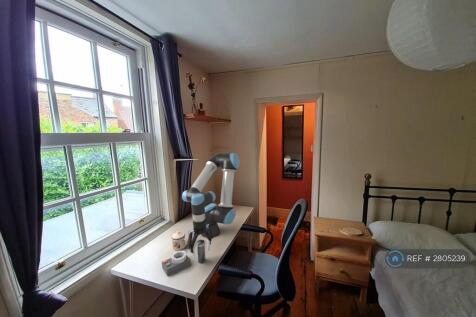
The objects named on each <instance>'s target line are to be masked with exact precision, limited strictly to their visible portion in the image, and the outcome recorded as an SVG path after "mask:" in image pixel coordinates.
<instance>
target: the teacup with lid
mask: <svg viewBox="0 0 476 317" xmlns="http://www.w3.org/2000/svg"><path fill="white" fill-rule="evenodd" d="M185 236H186V234H185V232H183V231H180V230H177V231H176V232H174V233H173V234H172V235H171V242H172V249H173V250H174V251H183V249H185V247H187V243H188V238H187V239H186V237H185Z"/></svg>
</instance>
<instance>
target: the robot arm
mask: <svg viewBox="0 0 476 317" xmlns="http://www.w3.org/2000/svg"><path fill="white" fill-rule="evenodd" d="M240 165H241V161H240V157H239V155H238V154H237V153H234V152H226V153H225V152H224V153H223V152H218V153H216V154H214V155H212V156H211V157H210V158H209V159H208V160H207V161H206V163H205V166H204V168H203V169H202V171H201V172H200V174H199V175H198V176H197V178H196V179H195V181H194V182H193V183H192V185H191V187H190V188H189V189H188V190H184V191H183V192H182V195H181V199H182V201H184V202H186V203H191V212H192V214H191V215H192V225H193V228H192V230H189V231H188V238H187V241H188V243H187V245H186V248H188V249H189V250H190V253H191V257H192V258H193V259H195V258H196V250H195V244H196V243H197V239H198V238H199V236H200V235H201V237H204V238H206V249H207V251H208V252H210V251H211V245H212V239H214V237H217V236H219V234H220V232H221V229H220V226H219V224H223V225H231V224H232V223H233V222H234V221H235V218H236V215H237V213H236V210H235V209H234V204H232V202H233V191H234V179H235V172H237V169H238V168H240ZM218 168H221V171H222V183H221V190H220V192H221V193H220V203H219V204H218V205H217V203H214V202H215V200H216V198H217V197H216V194H215V192H214V191H211V190H210V191H206V192H205V191H204V192H203V189H204V188H205V186H206V185H207V183H208V181H209V180H210V178H211V177H212V176H213V173H214V172H216V171H217V169H218Z"/></svg>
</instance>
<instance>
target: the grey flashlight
mask: <svg viewBox="0 0 476 317" xmlns="http://www.w3.org/2000/svg"><path fill="white" fill-rule="evenodd" d="M196 247H197V248H196V249H197V250H196V251H197V262H198V264H204V263H206V261H207V260H206V242H205V239H198V240H196Z"/></svg>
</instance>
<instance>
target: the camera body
mask: <svg viewBox="0 0 476 317" xmlns="http://www.w3.org/2000/svg"><path fill="white" fill-rule="evenodd" d="M161 266H162V268H161V269H162V270H163V272H164V274H165V275H166V277H169V276H171V275H173V274H175V273H177V272H179V271H181V270H184V269H185V268H187V267H189V266H191V258H190V257H189V256H188V255H187V253H186V251H184V250H176V251H175V252H173V253H172V254H171V257H169V258H167V259H164V260H162V261H161Z"/></svg>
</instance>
